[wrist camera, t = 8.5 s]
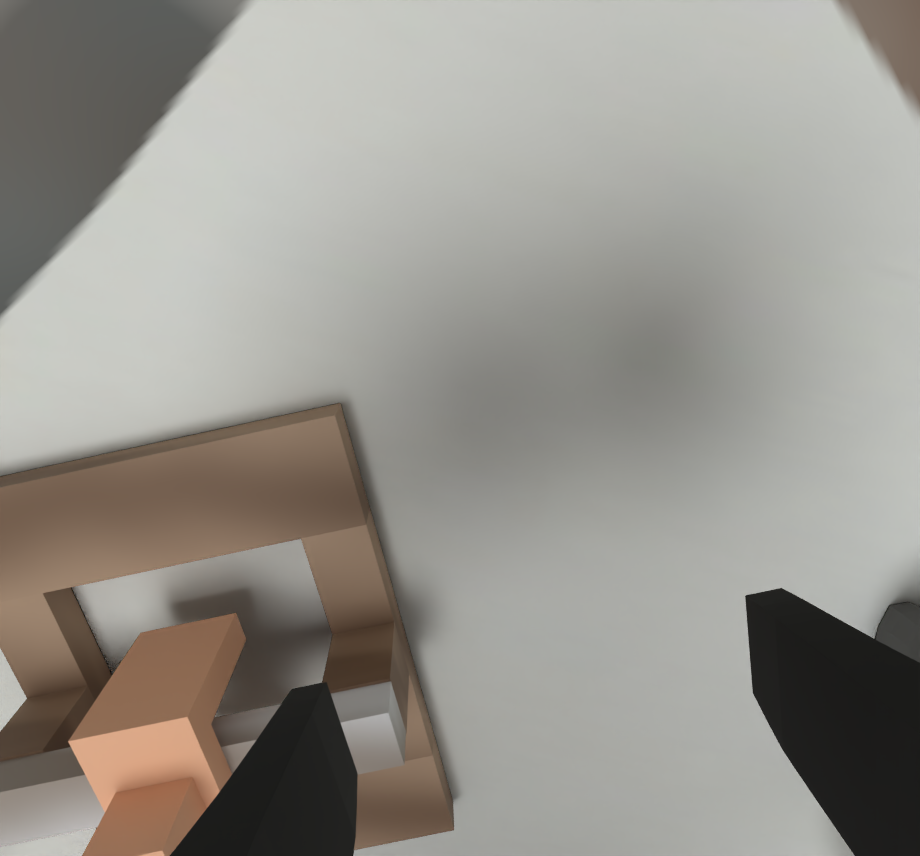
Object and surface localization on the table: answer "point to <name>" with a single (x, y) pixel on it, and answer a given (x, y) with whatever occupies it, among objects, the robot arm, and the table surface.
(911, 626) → the giant panda
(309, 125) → the table surface
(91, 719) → the block
